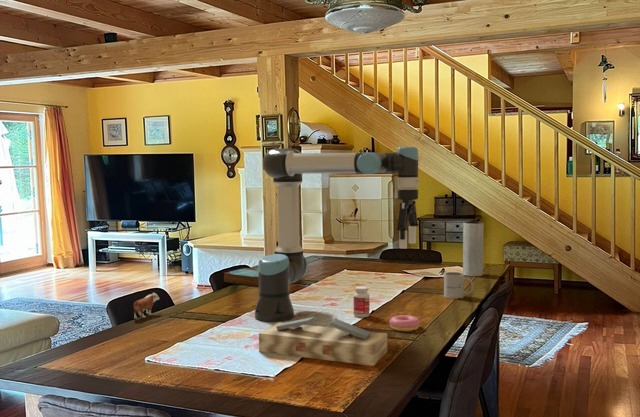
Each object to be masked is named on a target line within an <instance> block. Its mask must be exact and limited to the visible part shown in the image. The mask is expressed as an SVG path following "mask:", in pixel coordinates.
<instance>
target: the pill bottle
mask: <svg viewBox="0 0 640 417" xmlns="http://www.w3.org/2000/svg"><path fill="white" fill-rule="evenodd" d="M368 289H369V288H368V286H361V285H360V286H355V289H354V290H355V292H354V294H353V316H354V317H356V318H368V317H369V316H370V294H369V293H368V291H369V290H368Z"/></svg>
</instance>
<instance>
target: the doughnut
mask: <svg viewBox="0 0 640 417" xmlns="http://www.w3.org/2000/svg"><path fill="white" fill-rule="evenodd" d="M388 323H389V326H390V328H392V330H394V331H398V332H412V331H413V330H414V331H416V330H418V329H419V328H420V325H421V322H420V319H419V318H418V317H417V316H414V315H409V314H408V315H407V314H399V315H394V316H392V317H391V318H390V319H389V322H388ZM414 331H413V332H414Z"/></svg>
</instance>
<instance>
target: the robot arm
mask: <svg viewBox="0 0 640 417" xmlns="http://www.w3.org/2000/svg"><path fill="white" fill-rule="evenodd" d="M262 168H263V170H264V172H265V173H266V174H267V175H268V176H269V177H271V178H272V180H273V181H272V182H273V184H274V185H275V186H276V190H277V191H276V192H277V194H276V195H277V201H276V202H277V242H278V243H277V244H278V245H277V247H276V248H274V250H273V251H274V253H273V254H269V255H264V256H262V257H261V258H260V259H259V260H258V267H257V269H258V273H259V287H258V299H257V303H256V306H255V310H254V318H255V320H258V321H263V322H280V321H281V322H283V321H287V320H290V319H293V318H294V317H295V309H294V306H293V303H292V300H291V298H290V285H291V284H294V283H297V282H298V281H300V280H301V279H302V278H304V277H305V275H306V274H307V271H308V266H309V264H308V260H307V258H306V257H305V255H304V249H303V247H302V246H300V204H299V203H300V198H299V195H300V192H299V191H300V189H299V187H300V185H301V184H302V183H303V174H307V175H308V174H309V175H310V174H312V175H313V174H315V175H316V174H320V175H321V174H325V175H327V174H329V175H330V174H331V175H332V174H336V175H337V174H341V175H343V174H361V175H374V174H381V173H383V174H385V173H387V174H388V173H390V174H391V173H396V174H397V188H398V189H397V199H398V200H400V201H402V202H400V203H399V211H398V212H399V213H398V220H397V227H396V231H399V232H398V234H399V235H398V244H399V245H398V248H399V249H406V250H407V249H408V244H413V245H414V244H416V243H417V227H419V221H418V216H417V208H416V205H417V204H416V202H417V201H416V200H418V199H419V190H418V188H419V183H420V182H421V181H420V179H419V149H418V147H416V146H399V147H398V148H397V151H396V152H395V151H394V152H377V151H375V152H373V151H372V152H371V151H369V152H311V153H310V152H308V153H307V152H306V153H305V152H301V150H299V149H296V148H290V147H287V148H285V147H284V148H279V147H278V148H272V149H270V150H269V151H267V152H266V153H265V155H264V157H263V159H262ZM408 224H409V225H408ZM407 227H408V230H407Z"/></svg>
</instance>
